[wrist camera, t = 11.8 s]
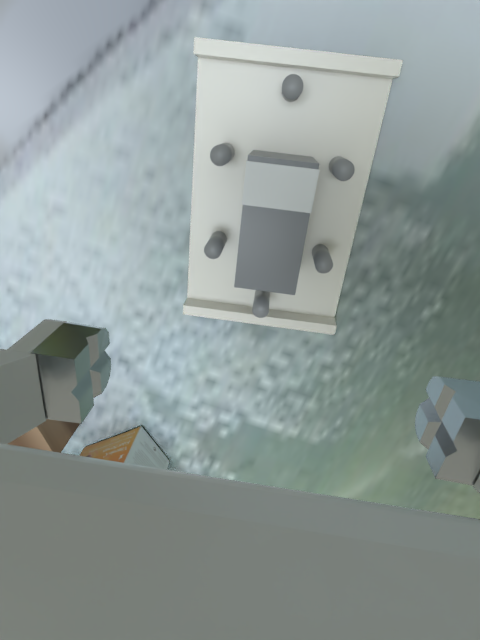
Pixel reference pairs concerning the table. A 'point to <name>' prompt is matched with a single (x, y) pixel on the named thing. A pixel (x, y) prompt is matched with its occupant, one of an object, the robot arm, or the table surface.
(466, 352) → the table surface
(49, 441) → the walnut block
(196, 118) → the peg board
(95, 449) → the small box
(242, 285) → the block
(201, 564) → the robot arm
